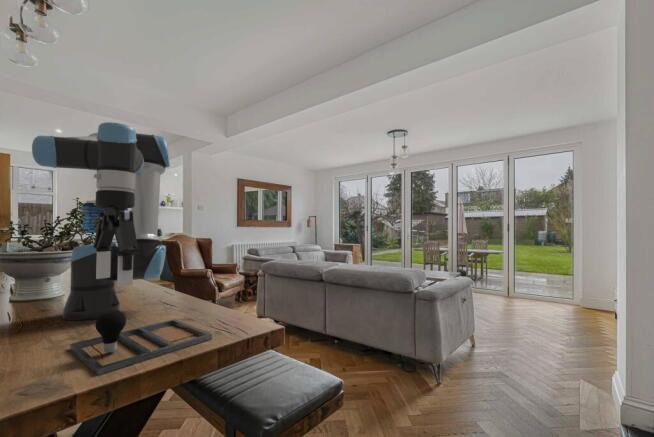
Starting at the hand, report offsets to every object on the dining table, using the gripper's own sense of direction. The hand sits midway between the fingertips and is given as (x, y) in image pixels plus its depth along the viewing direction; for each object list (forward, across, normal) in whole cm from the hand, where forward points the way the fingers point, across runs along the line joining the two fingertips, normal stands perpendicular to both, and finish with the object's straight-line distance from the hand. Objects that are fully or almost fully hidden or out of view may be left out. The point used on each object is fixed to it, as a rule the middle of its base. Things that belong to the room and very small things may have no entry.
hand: (113, 281), depth 71 cm
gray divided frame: (+16, 0, +7) cm, 18 cm away
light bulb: (+17, 0, 0) cm, 17 cm away
